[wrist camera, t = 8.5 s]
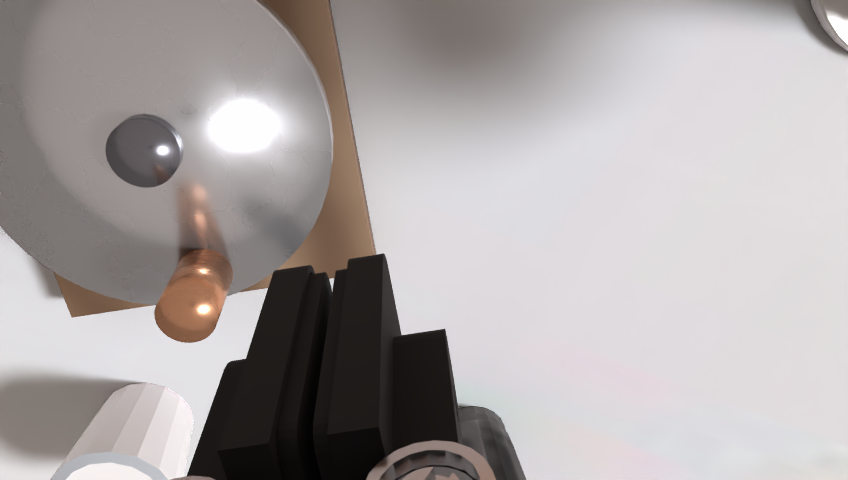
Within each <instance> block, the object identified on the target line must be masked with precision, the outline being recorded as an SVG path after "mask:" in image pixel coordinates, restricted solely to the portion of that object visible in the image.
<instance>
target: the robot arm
mask: <svg viewBox="0 0 848 480" xmlns="http://www.w3.org/2000/svg"><path fill="white" fill-rule="evenodd" d="M810 1H811V5H812V8H813V10H814V12H815V14H816V16H817V18H818V20H819V22H820V24H821V26H822V28H823V29H824V30H825V31H826V32H827V33H828V35H829V36H830V37H831V38H832V39H833V40H834V42H835V43H837V44H838V45H840V46H841V47H842V48H844V49H845V50H847V51H848V0H810ZM171 480H496V478H495V476H494V473H493V471H492V469H491V467H490V466H489V464H488V463H487V461H486V460H485V458H484V457H483V456H481V455H480V454H479V453H477V452H476V451H475V450H473V449H472V448H470V447H467V446H464V445H463V441H462V433H461V426H460V418H459V411H458V404H457V398H456V391H455V385H454V378H453V372H452V366H451V360H450V354H449V348H448V342H447V336H446V331H445V329H441V330H435V331H428V332H421V333H415V334H408V335H402V336H401V331H400V325H399V320H398V315H397V310H396V305H395V300H394V295H393V290H392V285H391V280H390V275H389V269H388V265H387V260H386V257H385V254H378V255H371V256H365V257H358V258H352V259H348V264H347V269H342V270H336V272H335V278H334V285H333V292H332V289H331V285H330V281H329V278H328V275H327V273H326V272H323V273H316V274H315V272H314V269H313V267H312V266H311V265H307V266H300V267H294V268H287V269H281V270H274V272H273V275H272V278H271V281H270V284H269V287H268V290H267V294H266V297H265V300H264V303H263V306H262V310H261V313H260V316H259V319H258V322H257V326H256V329H255V332H254V335H253V338H252V342H251V345H250V348H249V351H248V354H247V358H246V359H242V360H236V361H231V362H229V363H228V364H227V365H226V367H225V369H224V372H223V375H222V377H221V380H220V383H219V386H218V389H217V392H216V395H215V397H214V400H213V403H212V406H211V409H210V412H209V414H208V417H207V420H206V423H205V426H204V429H203V431H202V434H201V437H200V440H199V443H198V446H197V449H196V451H195V454H194V457H193V460H192V463H191V466H190V468H189V471H188V474H187V477H180V478H174V479H171Z"/></svg>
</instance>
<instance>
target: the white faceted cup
mask: <svg viewBox="0 0 848 480" xmlns="http://www.w3.org/2000/svg"><path fill="white" fill-rule="evenodd" d="M193 426H194V419H193V415H192V411H191V408H190V407H189V406H188V404H187V403H186V402H185V401H184V399H183V398H182V397H181V396H180V395H178V394H177V393H175V392H173V391H172V390H170V389H168V388H167V387H164V386H160V385H155V384H151V383H138V384H129V385H127V386H125V387H122V388H120V389H118V390H116V391H114V392H113V393H112V395H111V396H110V397H109V398H108V399H107V400H106V402H105V403H104V404H103V406H102V407H101V408H100V410H99V411H98V413H97V414H96V416H95V417H94V418H93V420H92V421H91V423H90V424H89V425H88V427H87V428H86V430H85V431H84V433H83V434H82V435H81V437H80V438H79V440H78V441H77V442H76V444H75V445H74V447H73V448H72V450H71V451H70V452H69V454H68V455H67V457H66V458H65V460H64V461H63V462H62V464H61V465H60V467H59V468H58V469H57V471H56V472H55V474H54V475H53V477H52V478H51V480H171V479H174V478H180V477H184V472H185V467H186V462H187V457H188V452H189V447H190V441H191V436H192V431H193Z"/></svg>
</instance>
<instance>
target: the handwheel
mask: <svg viewBox="0 0 848 480" xmlns="http://www.w3.org/2000/svg"><path fill="white" fill-rule="evenodd" d="M332 160H333V128H332V119H331V112H330V108H329V104H328V100H327V97H326V93H325V89H324V87H323V84H322V82H321V79H320V77H319V75H318V72H317V70H316V67H315V66H314V64H313V62H312V60H311V59H310V57H309V55H308V53H307V51H306V50H305V48H304V46H303V45H302V44H301V42H300V41H299V39H298V38H297V37H296V35H295V34H294V33H293V31H292V30H291V28H290V27H289V26H288V25H287V24H286V23H285V22H284V21H283V20H282V19H281V18H280V16H279V15H278V14H277V13H276V12H275V11H274V10H273V9H272V8H271V7H270V6H269V5H267V4H266V3H265V2H264V1H263V0H0V226H1V227H2V228H3V230H4V231H5V232H6V233H7V234H8V235H9V236H10V237H11V238H12V239H13V240H14V241H15V242H16V243H17V244H18V245H19V246H20V247H21V248H22V249H23V250H24V251H25V252H27V253H28V254H29V255H31V256H32V257H33V258H35V259H36V260H37V261H38V262H40V263H41V264H42V265H44V266H45V267H47V268H48V269H50V270H52V271H53V272H55V273H56V274H58V275H60V276H61V277H63V278H65V279H67V280H69V281H71V282H73V283H75V284H77V285H79V286H81V287H83V288H85V289H88V290H91V291H94V292H96V293H99V294H102V295H105V296H108V297H112V298H116V299H120V300H124V301H128V302H134V303H141V304H148V305H156V308H155V320H156V323H157V325H158V327H159V328H160V330H161V331H162V332H163V333H164V334H166V335H167V336H168V337H170V338H172V339H174V340H177V341H180V342H187V343H191V342H198V341H201V340H203V339H205V338H207V337H208V336H209V335H210V334H211V333H212V332H213V331H214V329H215V327H216V324H217V322H218V319H219V316H220V313H221V311H222V308H223V305H224V302H225V299H226V297H227V296H229V295H232V294H235V293H238V292H240V291H242V290H244V289H246V288H248V287H250V286H252V285H254V284H256V283H258V282H259V281H261V280H262V279H264V278H265V277H267V276H269V275H270V274H272V273H273V272H274V270H277V269H278V268H279V267H280V266H281V265H282V264H284V263H285V262H286V261H287V260H288V259H289V258H290V257H291V256H292V255H293V254H294V252H295V251H296V250H297V249H298V248H299V247H300V246H301V245H302V243H303V242H304V240H305V239H306V237H307V236H308V234H309V233H310V231H311V230H312V228H313V226H314V224H315V222H316V220H317V218H318V216H319V214H320V211H321V209H322V207H323V203H324V200H325V197H326V194H327V190H328V186H329V180H330V173H331V167H332Z"/></svg>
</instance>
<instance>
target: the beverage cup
mask: <svg viewBox="0 0 848 480" xmlns="http://www.w3.org/2000/svg"><path fill="white" fill-rule="evenodd" d="M458 411H459V418H460V426H461V433H462V441H463V445H464V446H467V447H470V448H472V449H473V450H475V451H476V452H477V453H479V454H480V455H481V456H483V457H484V458H485V460H486V461H487V463H488V464H489V466H490V467H491V469H492V471H493V473H494V476H495V478H496V480H526V478H525V475H524V473H523V470H522V467H521V465H520V462H519V460H518V457H517V454H516V452H515V449H514V447H513V444H512V442H511V439H510V437H509V435H508V433H507V432H506V430H505V427H504V424H503V422H502V420H501V418H500V417H499V416H498V415H496V414H495V413H494V412H493V411H490V410H488V409H486V408H482V407H475V406H473V407H465V408H461V409H459V410H458Z"/></svg>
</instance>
